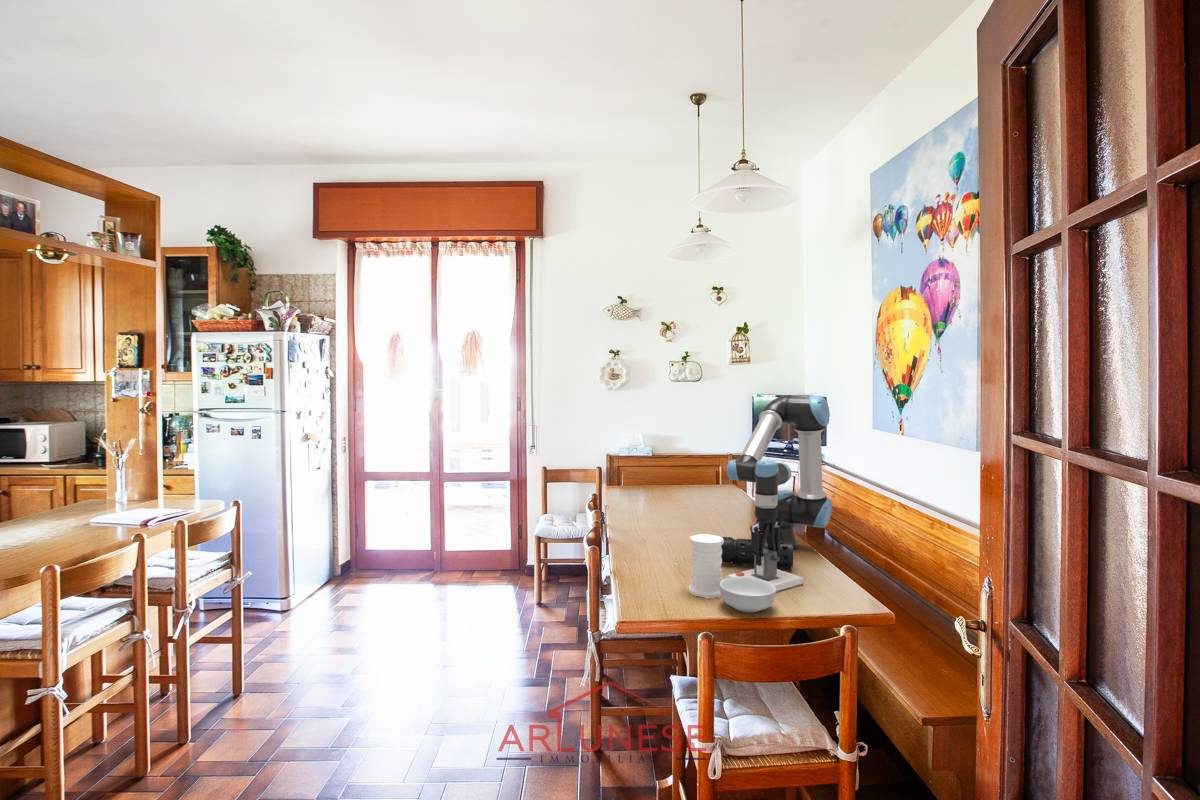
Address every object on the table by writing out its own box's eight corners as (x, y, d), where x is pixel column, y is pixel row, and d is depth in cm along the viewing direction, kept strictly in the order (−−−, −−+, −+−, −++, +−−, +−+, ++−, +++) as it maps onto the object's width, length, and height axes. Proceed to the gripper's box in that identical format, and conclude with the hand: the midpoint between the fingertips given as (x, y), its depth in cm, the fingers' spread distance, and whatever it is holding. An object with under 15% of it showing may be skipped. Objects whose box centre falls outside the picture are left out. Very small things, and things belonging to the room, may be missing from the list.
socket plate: (766, 572, 220) (766, 563, 220) (803, 584, 207) (803, 575, 207) (727, 582, 209) (727, 572, 209) (763, 596, 196) (763, 586, 196)
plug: (754, 572, 209) (754, 550, 209) (762, 570, 212) (763, 548, 212) (773, 579, 202) (773, 555, 202) (782, 577, 205) (782, 553, 205)
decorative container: (681, 589, 202) (681, 536, 201) (708, 584, 207) (709, 532, 207) (703, 600, 192) (704, 544, 191) (731, 594, 197) (732, 540, 197)
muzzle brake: (793, 573, 220) (793, 545, 220) (715, 567, 227) (715, 539, 227) (791, 565, 229) (791, 538, 229) (716, 559, 236) (716, 533, 236)
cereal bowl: (736, 621, 176) (736, 597, 175) (710, 601, 192) (710, 579, 191) (786, 615, 180) (787, 591, 180) (757, 596, 196) (757, 574, 196)
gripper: (757, 511, 199) (756, 580, 200) (791, 505, 209) (790, 571, 210) (740, 507, 206) (739, 574, 206) (774, 501, 215) (773, 566, 216)
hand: (765, 573), depth 208 cm, fingers closed on plug, 4 cm apart
